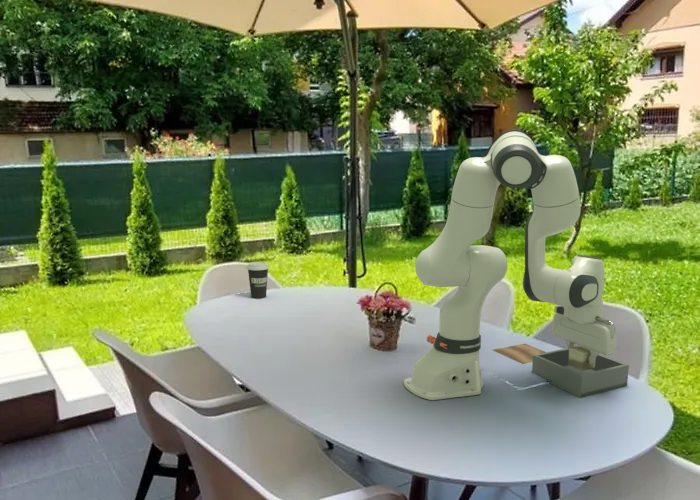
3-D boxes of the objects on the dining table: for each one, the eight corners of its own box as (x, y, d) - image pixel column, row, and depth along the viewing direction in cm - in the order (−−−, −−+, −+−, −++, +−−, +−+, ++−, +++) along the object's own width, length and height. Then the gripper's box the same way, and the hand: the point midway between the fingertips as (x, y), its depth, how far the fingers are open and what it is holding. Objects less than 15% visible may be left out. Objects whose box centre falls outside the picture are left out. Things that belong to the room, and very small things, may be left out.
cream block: (581, 370, 166) (583, 353, 165) (568, 364, 170) (569, 348, 170) (594, 368, 168) (596, 351, 167) (581, 362, 173) (582, 345, 172)
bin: (580, 397, 159) (582, 376, 158) (531, 374, 175) (533, 355, 174) (627, 385, 167) (628, 365, 166) (576, 364, 183) (577, 345, 182)
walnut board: (522, 367, 181) (522, 363, 181) (491, 352, 193) (492, 349, 193) (556, 359, 187) (556, 356, 187) (524, 346, 200) (525, 343, 199)
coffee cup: (244, 299, 260) (243, 265, 258) (251, 293, 269) (250, 261, 267) (265, 300, 259) (265, 265, 256) (272, 294, 268) (271, 261, 265)
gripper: (624, 320, 159) (620, 370, 161) (566, 302, 177) (563, 347, 179) (606, 323, 156) (603, 374, 158) (549, 305, 174) (547, 350, 177)
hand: (581, 360), depth 169 cm, fingers closed on cream block, 5 cm apart
